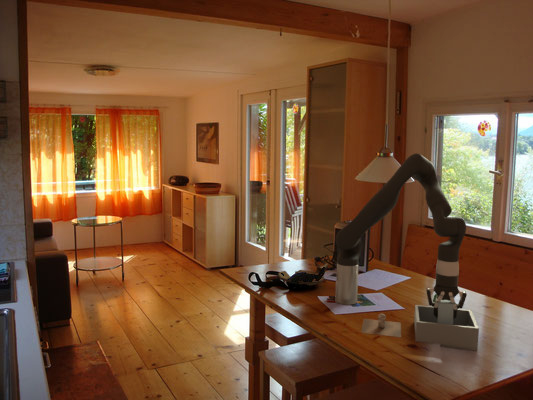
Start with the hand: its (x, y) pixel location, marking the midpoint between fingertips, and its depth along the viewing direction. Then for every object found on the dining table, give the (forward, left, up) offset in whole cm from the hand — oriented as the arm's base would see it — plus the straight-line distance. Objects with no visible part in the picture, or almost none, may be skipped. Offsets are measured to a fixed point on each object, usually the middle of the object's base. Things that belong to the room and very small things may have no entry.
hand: (444, 317), depth 169 cm
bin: (0, 0, -7) cm, 7 cm away
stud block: (-22, 0, -7) cm, 23 cm away
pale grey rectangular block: (0, 0, -5) cm, 5 cm away
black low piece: (-60, +48, -8) cm, 77 cm away
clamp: (+3, +28, -8) cm, 29 cm away
